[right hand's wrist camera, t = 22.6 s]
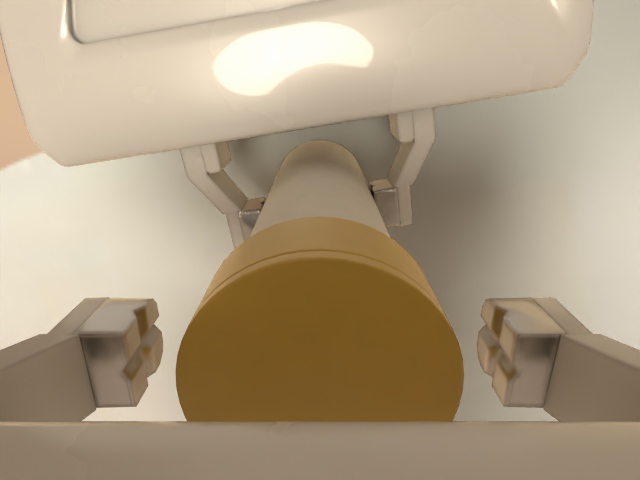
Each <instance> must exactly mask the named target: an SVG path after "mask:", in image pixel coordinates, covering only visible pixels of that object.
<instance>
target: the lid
mask: <svg viewBox="0 0 640 480" xmlns="http://www.w3.org/2000/svg"><path fill="white" fill-rule="evenodd" d="M463 379H464V370H463V359H462V355H461V351H460V346H459V343H458V341H457V338H456V336H455V334H454V331H453V329H452V327H451V325H450V323H449V321H448V319H447V317H446V315H445V313H444V312H443V310H442V308H441V306H440V304H439V302H438V300H437V298H436V296H435V294H434V292H433V290H432V289H431V287H430V285H429V283H428V281H427V279H426V277H425V275H424V274H423V272H422V270H421V269H420V267H419V265H418V264H417V262H416V261H415V260H414V259H413V258H412V257H411V255H410V254H409V253H408V252H407V251H406V250H405V249H404V248H403V247H402V246H400V245H399V244H398V243H397V242H396V241H394V240H393V239H391V238H390V237H388V236H387V235H385V234H384V233H382V232H380V231H378V230H376V229H374V228H372V227H370V226H367V225H364V224H361V223H358V222H355V221H351V220H346V219H341V218H334V217H304V218H299V219H293V220H288V221H285V222H282V223H278V224H275V225H272V226H270V227H268V228H266V229H264V230H261V231H259V232H258V233H256V234H254V235H253V236H251V237H250V238H248V239H246V240H245V241H244V242H243V243H242V244H240V245H239V246H238V247H237V248H236V249H234V251H233V252H232V253H231V254H230V255H229V256H228V257H227V258H226V259H225V261H224V262H223V264H222V265H221V267H220V268H219V270H218V271H217V273H216V274H215V276H214V278H213V280H212V282H211V284H210V286H209V288H208V290H207V292H206V293H205V295H204V297H203V299H202V301H201V303H200V305H199V307H198V309H197V311H196V312H195V314H194V317H193V318H192V320H191V322H190V324H189V326H188V328H187V330H186V332H185V334H184V337H183V339H182V341H181V345H180V348H179V352H178V355H177V364H176V387H177V392H178V397H179V402H180V405H181V407H182V410H183V413H184V415H185V418H186V420H187V421H236V422H452V421H453V419H454V416H455V414H456V411H457V409H458V407H459V403H460V399H461V395H462V391H463Z"/></svg>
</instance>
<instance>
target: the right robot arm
mask: <svg viewBox="0 0 640 480" xmlns="http://www.w3.org/2000/svg"><path fill="white" fill-rule="evenodd" d="M158 317H159V313H158V307H157V303H156V302H155V301H154V299H145V298H109V297H105V298H85V299H84V300H83V301H82V302H81V303H80V304H79V305H78V306H77V307H76V308H74V309H73V310H72V311H71V312H70V313H69V314H68V315H67V316H66V317H65V318H64V319H63V320H62V321H61V322H59V323H58V324H57V325H56V326H55V327H54V328H53V329H52V330H51V331H50V332H49V333H48V334H39V335H37V336H34V337H32V338H29V339H27V340H24V341H22V342H20V343H17V344H15V345H12V346H10V347H7V348H5V349H2V350H0V480H640V350H638V349H635V348H633V347H630V346H628V345H625V344H623V343H620V342H618V341H615V340H613V339H611V338H608V337H606V336H603V335H601V334H592V333H591V332H590V331H589V330H588V329H587V328H586V327H585V326H584V325H583V324H582V323H581V322H580V321H578V320H577V319H576V318H575V317H574V316H573V315H572V314H571V313H570V312H569V311H568V310H567V309H566V308H565V307H564V306H562V305H561V304H560V303H559V302H558V301H557V300H556V299H554V298H551V297H546V298H501V299H486V300H485V302H484V304H483V306H482V312H481V317H482V318H483V320H484V321H485V323H486V325H485V326H484V327H483V328H482V329H481V330H480V331H479V332H478V339H477V352H478V358H479V362H480V365H481V367H482V369H483V370H484V372H485V373H487V374H488V375H490V376H491V377H493V381H492V387H493V389H494V390H495V392H496V394H497V396H498V397H499V399H500V401H501V403H502V405H503V406H504V407H538V408H544V410H545V411H546V412H548V413H549V414H550V415H552V416H553V417H554V418H556V419H557V420H558V421H560V422H236V421H82V420H83V419H85V418H86V417H87V416H89V415H90V414H91V413H93V412H94V411H95V410H96V408H102V407H136V406H137V405H138V403H139V401H140V399H141V397H142V396H143V394H144V392H145V390H146V389H147V387H148V381H147V377H149V376H150V375H152V374H153V373H155V372H156V370H157V369H158V367H159V365H160V362H161V357H162V353H163V338H162V332H161V331H160V330H159V329H158V328H157V327H156V326H155V325H154V323H155V321H156V320H157V318H158Z"/></svg>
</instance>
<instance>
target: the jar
mask: <svg viewBox="0 0 640 480" xmlns="http://www.w3.org/2000/svg"><path fill="white" fill-rule="evenodd" d="M304 217H334V218H341V219H346V220H351V221H355V222H358V223H361V224H364V225H367V226H370V227H372V228H374V229H376V230H378V231H380V232H382V233H384V234H385V235H387V236H388V237H390V236H389V233H388V231H387V229H386V226H385V224H384V222H383V219H382V217H381V215H380V212H379V210H378V208H377V206H376V203H375V201H374V199H373V196H372V194H371V192H370V189H369V187H368V185H367V182H366V180H365V178H364V176H363V173H362V171H361V169H360V166H359V164H358V162H357V160H356V159H355V158H354V156H353V155H352V154H351V153H350V152H349V151H348V150H347V149H346V148H344V147H343V146H341V145H339V144H337V143H334V142H331V141H326V140H314V141H309V142H306V143H303V144H301V145H299V146H297V147H296V148H295V149H293V150H292V151H291V152H290V153H289V154H288V155H287V156H286V158H285V159H284V161H283V162H282V164H281V167H280V169H279V171H278V173H277V176H276V178H275V180H274V183H273V185H272V187H271V189H270V192H269V194H268V196H267V199H266V201H265V203H264V206H263V208H262V210H261V212H260V215H259V217H258V219H257V222H256V224H255V226H254V228H253V231H252V233H251V235H250V237H251V236H253V235H254V234H256V233H258V232H259V231H261V230H264V229H266V228H268V227H270V226H272V225H275V224H278V223H282V222H285V221H288V220H293V219H299V218H304Z"/></svg>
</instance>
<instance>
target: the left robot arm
mask: <svg viewBox="0 0 640 480" xmlns="http://www.w3.org/2000/svg"><path fill="white" fill-rule="evenodd" d="M592 19H593V0H0V34H1V39H2V44H3V48H4V52H5V56H6V60H7V64H8V68H9V71H10V75H11V79H12V83H13V86H14V90H15V93H16V96H17V100H18V103H19V106H20V109H21V113H22V116H23V119H24V122H25V125H26V127H27V130H28V133H29V135H30V137H31V139H32V141H33V143H34V144H35V145H36V146H37V147H38V148H39V149H40V150H42V151H43V152H44V153H45V154H47V155H48V156H49V157H50V158H52V159H53V160H54V161H56V162H57V163H58V164H60V165H62V166H65V167H71V166H78V165H84V164H90V163H96V162H102V161H108V160H114V159H121V158H127V157H133V156H139V155H145V154H151V153H157V152H164V151H170V150H176V149H180V152H181V156H182V159H183V163H184V167H185V170H186V174H187V178H188V179H189V180H190V181H191V182H192V183H193V184H194V185H195V186H196V187H197V188H198V189H199V190H200V191H201V192H202V193H203V194H204V195H205V196H206V197H207V198H208V199H209V200H210V201H211V202H212V203H213V204H214V205H215V206H216V208H217V209H218V210H219V211H220V212H221V213H222V214H224V213H226V217H227V221H228V225H229V229H230V233H231V237H232V241H233V245H234V247H235V249H236V248H237V247H238V246H239V245H240V244H242V243H243V242H244V241H245V240H246V239H248V238H250V235H251V233H252V231H253V228H254V226H255V224H256V222H257V219H258V217H259V215H260V212H261V210H262V208H263V206H264V203H265V201H266V197H264V198H256V199H248V200H247V197H246V196H245V195H244V194H243V193H242V191H241V190H240V189H239V188H238V187H237V186H236V184H235V183H234V182H233V181H232V180H231V179H230V177H229V176H228V175H227V174H226V173H225V172H224V170H223V168H224V167H225V166H226V165H227V164H228V163H229V162H230V160H231V156H230V152H229V147H228V142H227V141H231V140H237V139H244V138H250V137H256V136H262V135H268V134H274V133H281V132H287V131H293V130H299V129H305V128H311V127H317V126H324V125H330V124H336V123H342V122H348V121H354V120H361V119H367V118H373V117H379V116H385V115H389V123H390V132H391V134H392V135H393V136H394V137H395V138H396V139H397V140H399V141H400V142H401V145H400V148H399V150H398V152H397V155H396V157H395V159H394V162H393V164H392V166H391V169H390V171H389V173H388V176H387V178H385V179H379V180H374V181H369V186H370V192H371V194H372V196H373V199H374V201H375V203H376V206H377V208H378V210H379V212H380V215H381V217H382V219H383V222H384V224H385V226H386V228H390V227H398V226H404V225H411V224H412V207H411V195H410V185H413V183H414V181H415V179H416V177H417V175H418V173H419V171H420V169H421V167H422V165H423V163H424V161H425V159H426V157H427V155H428V153H429V151H430V149H431V147H432V145H433V143H434V141H435V122H434V107H441V106H447V105H453V104H459V103H465V102H471V101H477V100H484V99H490V98H496V97H502V96H508V95H514V94H520V93H527V92H533V91H539V90H545V89H551V88H557V87H560V86H562V85H563V84H565V83H566V82H567V80H568V79H569V78H570V77H571V75H572V74H573V73H574V71H575V70H576V68H577V67H578V65H579V64H580V62H581V61H582V59H583V58H584V56H585V55H586V53H587V51H588V48H589V44H590V39H591V31H592Z"/></svg>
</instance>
